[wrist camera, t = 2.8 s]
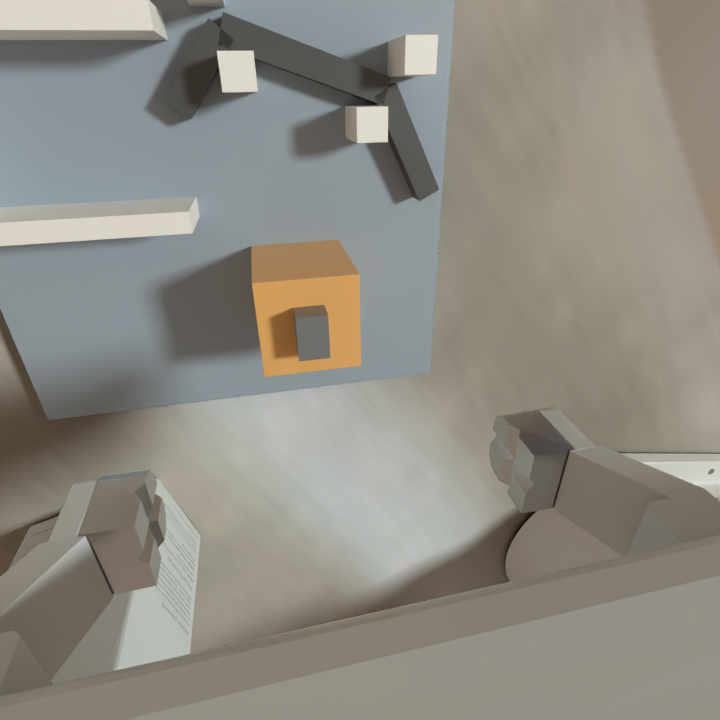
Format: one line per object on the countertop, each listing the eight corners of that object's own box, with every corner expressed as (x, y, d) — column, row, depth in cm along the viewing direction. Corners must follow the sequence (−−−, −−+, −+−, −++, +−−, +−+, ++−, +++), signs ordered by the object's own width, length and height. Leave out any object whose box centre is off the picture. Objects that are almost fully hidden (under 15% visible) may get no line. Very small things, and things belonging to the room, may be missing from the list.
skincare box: (86, 577, 30) (-31, 923, 18) (25, 519, 27) (-171, 888, 15) (208, 531, 31) (180, 840, 18) (161, 468, 27) (87, 788, 15)
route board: (447, -26, 19) (491, -52, 15) (424, 364, 28) (449, 402, 24) (-131, -40, 15) (-239, -78, 12) (55, 409, 24) (23, 460, 21)
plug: (338, 239, 22) (365, 283, 17) (341, 317, 24) (366, 377, 19) (251, 245, 21) (251, 293, 16) (261, 325, 23) (265, 390, 18)
